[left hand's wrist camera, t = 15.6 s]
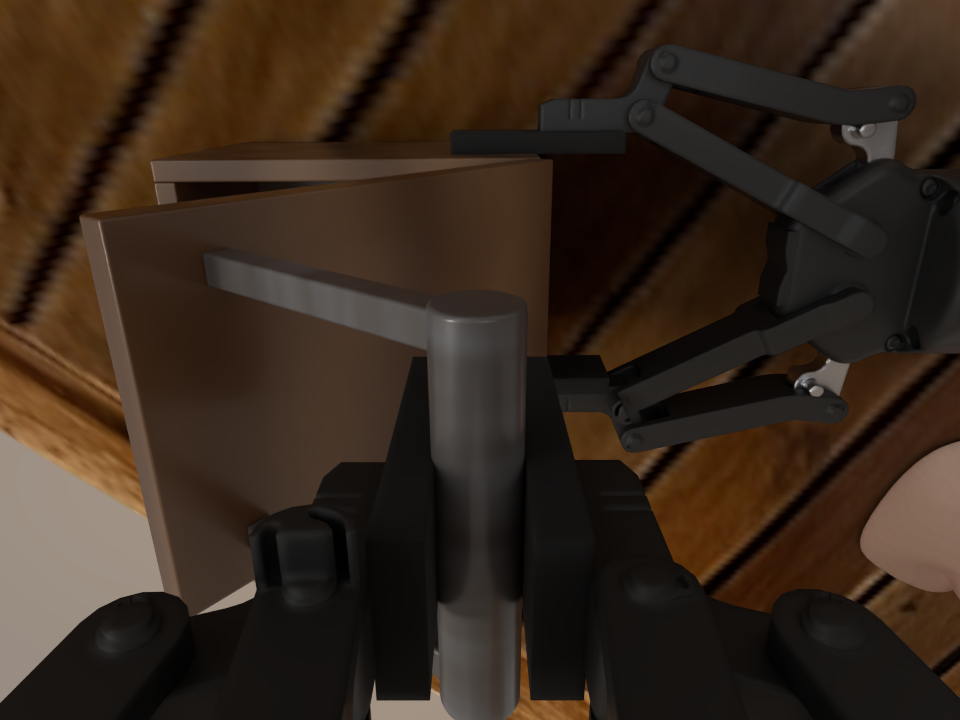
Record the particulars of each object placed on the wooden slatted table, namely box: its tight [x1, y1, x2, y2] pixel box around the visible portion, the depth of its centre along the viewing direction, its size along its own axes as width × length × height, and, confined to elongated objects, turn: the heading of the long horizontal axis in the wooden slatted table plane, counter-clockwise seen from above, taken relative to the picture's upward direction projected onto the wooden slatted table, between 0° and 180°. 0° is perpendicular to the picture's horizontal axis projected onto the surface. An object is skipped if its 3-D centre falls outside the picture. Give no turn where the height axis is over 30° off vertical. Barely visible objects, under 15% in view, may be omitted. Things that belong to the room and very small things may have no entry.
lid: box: [80, 158, 553, 720], centre depth 17 cm, size 15×9×9 cm
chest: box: [151, 141, 541, 205], centre depth 29 cm, size 14×9×10 cm, turn 90°
